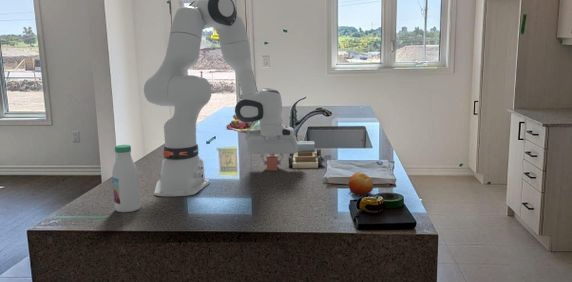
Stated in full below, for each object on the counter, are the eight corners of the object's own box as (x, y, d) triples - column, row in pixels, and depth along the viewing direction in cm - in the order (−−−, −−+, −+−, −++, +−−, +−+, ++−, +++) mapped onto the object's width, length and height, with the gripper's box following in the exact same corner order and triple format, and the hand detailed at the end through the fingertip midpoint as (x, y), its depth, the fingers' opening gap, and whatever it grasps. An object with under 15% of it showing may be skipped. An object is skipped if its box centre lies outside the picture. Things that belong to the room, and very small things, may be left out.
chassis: (322, 167, 203) (321, 150, 201) (288, 168, 203) (288, 151, 202) (320, 156, 222) (320, 140, 221) (290, 156, 223) (289, 141, 222)
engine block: (277, 170, 201) (276, 155, 200) (267, 170, 201) (266, 155, 200) (277, 167, 206) (277, 152, 205) (267, 167, 206) (267, 153, 205)
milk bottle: (143, 204, 163) (138, 142, 159) (137, 212, 155) (132, 148, 151) (119, 205, 163) (113, 143, 159) (112, 213, 155) (105, 148, 151)
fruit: (351, 184, 175) (362, 166, 171) (369, 199, 171) (380, 181, 167) (338, 190, 168) (349, 171, 164) (356, 205, 165) (367, 187, 161)
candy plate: (219, 128, 300) (218, 112, 298) (250, 123, 315) (249, 108, 314) (245, 133, 282) (244, 116, 280) (277, 127, 297) (277, 111, 295)
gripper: (244, 132, 198) (245, 166, 201) (297, 131, 197) (297, 166, 200) (245, 129, 204) (247, 162, 207) (297, 128, 203) (297, 162, 206)
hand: (272, 164), depth 203 cm, fingers closed on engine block, 4 cm apart
